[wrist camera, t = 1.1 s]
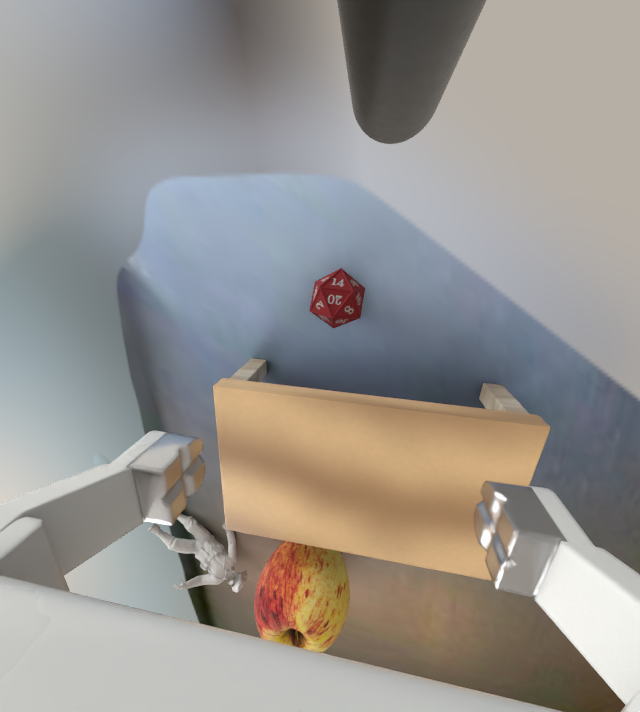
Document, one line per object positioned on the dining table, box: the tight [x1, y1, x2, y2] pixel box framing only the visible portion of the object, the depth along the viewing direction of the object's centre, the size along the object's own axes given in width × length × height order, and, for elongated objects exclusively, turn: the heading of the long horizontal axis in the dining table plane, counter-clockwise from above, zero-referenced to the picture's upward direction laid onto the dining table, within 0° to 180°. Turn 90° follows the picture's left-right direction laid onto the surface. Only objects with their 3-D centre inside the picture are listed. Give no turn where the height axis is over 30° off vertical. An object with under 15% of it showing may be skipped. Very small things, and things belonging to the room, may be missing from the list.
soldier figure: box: [148, 514, 247, 592], centre depth 34 cm, size 8×5×12 cm
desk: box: [213, 358, 551, 581], centre depth 25 cm, size 14×22×6 cm, turn 88°
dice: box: [310, 268, 365, 328], centre depth 22 cm, size 4×4×4 cm
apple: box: [254, 541, 350, 653], centre depth 29 cm, size 9×9×10 cm
